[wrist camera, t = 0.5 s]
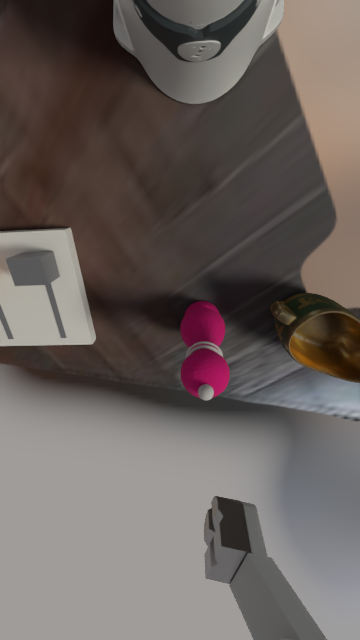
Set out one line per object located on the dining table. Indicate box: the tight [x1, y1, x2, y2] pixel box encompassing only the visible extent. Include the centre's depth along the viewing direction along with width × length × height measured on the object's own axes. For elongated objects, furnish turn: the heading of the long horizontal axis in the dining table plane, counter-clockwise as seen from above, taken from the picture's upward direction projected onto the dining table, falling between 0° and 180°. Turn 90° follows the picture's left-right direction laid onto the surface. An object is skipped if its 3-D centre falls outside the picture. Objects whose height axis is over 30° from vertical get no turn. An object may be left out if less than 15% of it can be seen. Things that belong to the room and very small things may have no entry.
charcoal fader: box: [6, 251, 60, 286], centre depth 40 cm, size 4×5×4 cm
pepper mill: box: [180, 301, 230, 400], centre depth 38 cm, size 7×7×20 cm
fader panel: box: [0, 228, 96, 346], centre depth 45 cm, size 20×20×2 cm
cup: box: [270, 293, 360, 383], centre depth 41 cm, size 13×20×10 cm, turn 31°
